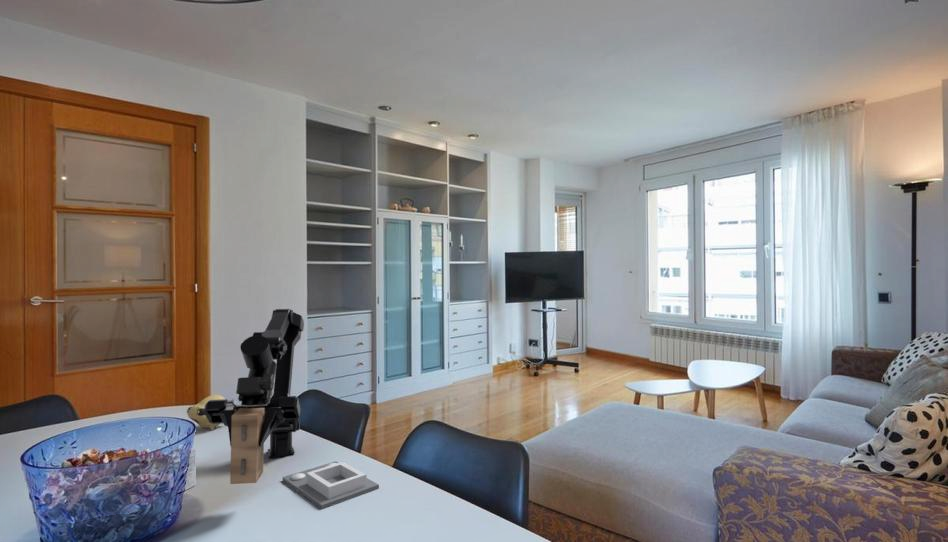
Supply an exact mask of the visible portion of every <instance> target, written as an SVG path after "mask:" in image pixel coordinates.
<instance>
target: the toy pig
mask: <svg viewBox="0 0 948 542" xmlns="http://www.w3.org/2000/svg"><path fill="white" fill-rule="evenodd" d="M221 399H226V398H225V397H224V396H222V395H220V394H211V395H208V396H207V397H204V398H203V399H202V400H201V401H199V402H198V403H197V404H192V406H189V407H187V409H186V413H187V417H188V419H190V420H192V421H193V422H195V423H196V424H197V425H198V426H199V427H200V428H205V429H209V430H210V431H213V430H215V428H216V426H219V425H221V424H222V423H219V424H212V423H209V421H208V419H207V417H206V415H205V413H204V408H205V404H206V403H207V402H208V401H210V400H221Z"/></svg>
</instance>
